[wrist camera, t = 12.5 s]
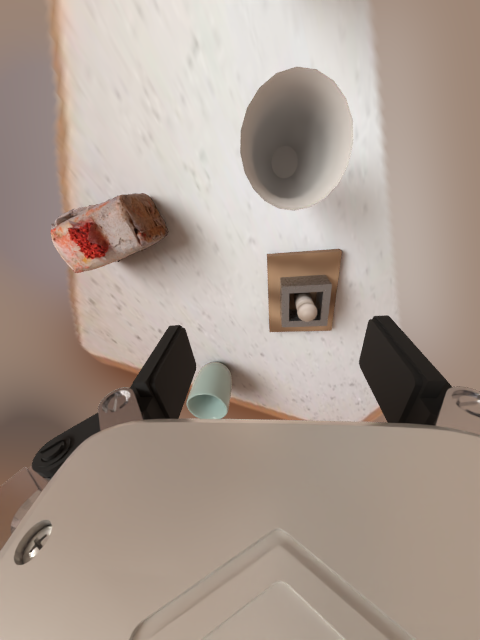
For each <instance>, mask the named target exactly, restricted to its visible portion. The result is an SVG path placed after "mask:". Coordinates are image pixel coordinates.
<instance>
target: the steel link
mask: <svg viewBox="0 0 480 640" xmlns="http://www.w3.org/2000/svg"><path fill="white" fill-rule="evenodd" d="M331 289H332V283H331V282H330V280H329V279H328V278H327V276H326V275H311V276H295V277H280V316H281V324H282V327H309V326H327V323H328V314H329V306H330V297H331ZM307 292H317V295H316V308H317V315H316V317H315V319H313V320H312V321H309V322H305V321H302V320H301V319H300V318H299V317H298V315H297V309H289V293H307Z"/></svg>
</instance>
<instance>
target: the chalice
mask: <svg viewBox="0 0 480 640" xmlns="http://www.w3.org/2000/svg"><path fill="white" fill-rule="evenodd" d="M352 145H353V120H352V116H351V113H350V110H349V107H348V103H347V100H346V98H345V96H344V95H343V93H342V92H341V90H340V89H339V88H338V86H337V85H336V83H335V82H334V81H333V80H332V79H330V78H329V77H327V76H326V75H324V74H323V73H321V72H320V71H318V70H317V69H309V68H302V67H294V68H291V69H288V70H285V71H282V72H279V73H276V74H275V75H274V76H273V77H272V78H270V79H269V80H268V81H267V82H266V83H265V84H263V85H262V86H261V87H260V88H259V89H258V91H257V93H256V94H255V96H254V98H253V99H252V101H251V103H250V104H249V106H248V108H247V110H246V114H245V117H244V121H243V125H242V128H241V147H240V153H241V158H242V162H243V167H244V171H245V174H246V176H247V178H248V180H249V181H250V183H251V185H252V187H253V189H254V190H255V191H256V192H257V193H258V194H259V195H260V196H261V197H262V198H263V199H264V201H266V202H268V203H270V204H272V205H273V206H275V207H277V208H280V209H287V210H299V209H304V208H309V207H311V206H313V205H315V204H316V203H318V202H320V201H321V200H323V199H325V198H326V197H327V196H328V195H329V193H330V192H331V191H332V190H333V189H334V188H335V187H336V186H337V185H338V183H339V181H340V180H341V178H342V176H343V174H344V172H345V170H346V168H347V166H348V163H349V159H350V154H351V150H352Z"/></svg>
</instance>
